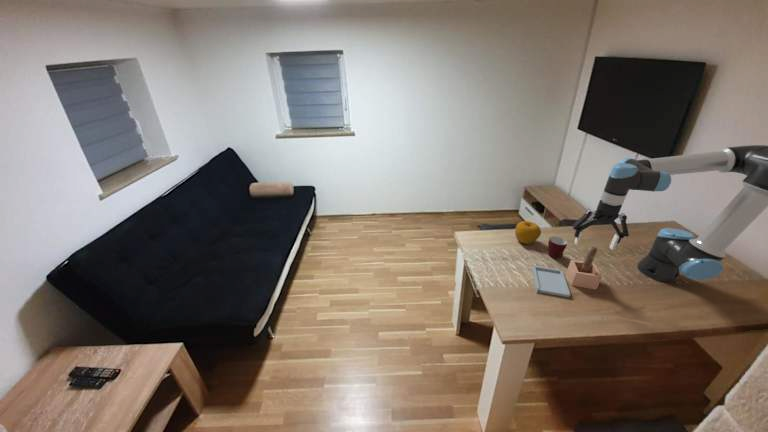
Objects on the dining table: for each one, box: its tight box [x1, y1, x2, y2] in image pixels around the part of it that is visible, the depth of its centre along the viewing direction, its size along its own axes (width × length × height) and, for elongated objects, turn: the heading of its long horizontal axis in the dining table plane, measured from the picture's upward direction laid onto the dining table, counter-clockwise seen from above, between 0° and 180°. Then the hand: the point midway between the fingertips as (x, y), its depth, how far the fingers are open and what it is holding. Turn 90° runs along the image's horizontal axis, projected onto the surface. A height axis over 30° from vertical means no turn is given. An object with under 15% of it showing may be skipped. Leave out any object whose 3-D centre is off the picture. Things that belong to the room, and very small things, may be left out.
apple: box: [514, 220, 542, 245], centre depth 168 cm, size 13×13×11 cm
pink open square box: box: [566, 259, 602, 290], centre depth 138 cm, size 10×10×8 cm
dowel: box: [580, 245, 598, 273], centre depth 135 cm, size 3×3×18 cm
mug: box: [547, 236, 568, 259], centre depth 154 cm, size 10×8×10 cm
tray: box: [531, 265, 572, 298], centre depth 139 cm, size 18×13×2 cm
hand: (593, 245), depth 131 cm, fingers open, 13 cm apart
